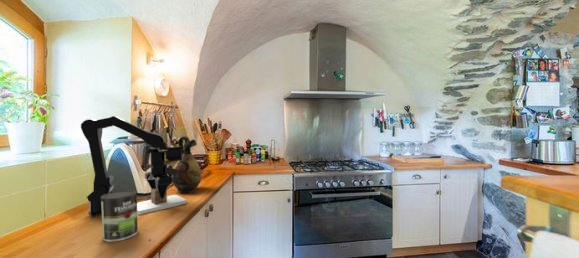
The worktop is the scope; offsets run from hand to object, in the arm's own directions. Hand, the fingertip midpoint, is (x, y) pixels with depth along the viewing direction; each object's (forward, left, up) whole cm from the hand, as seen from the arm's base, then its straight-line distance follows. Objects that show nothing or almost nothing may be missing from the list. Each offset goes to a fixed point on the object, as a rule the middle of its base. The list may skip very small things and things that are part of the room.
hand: (158, 196), depth 119 cm
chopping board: (0, 0, -4) cm, 4 cm away
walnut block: (0, 0, -3) cm, 3 cm away
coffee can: (-20, -23, -4) cm, 31 cm away
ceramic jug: (+19, +15, -4) cm, 25 cm away
